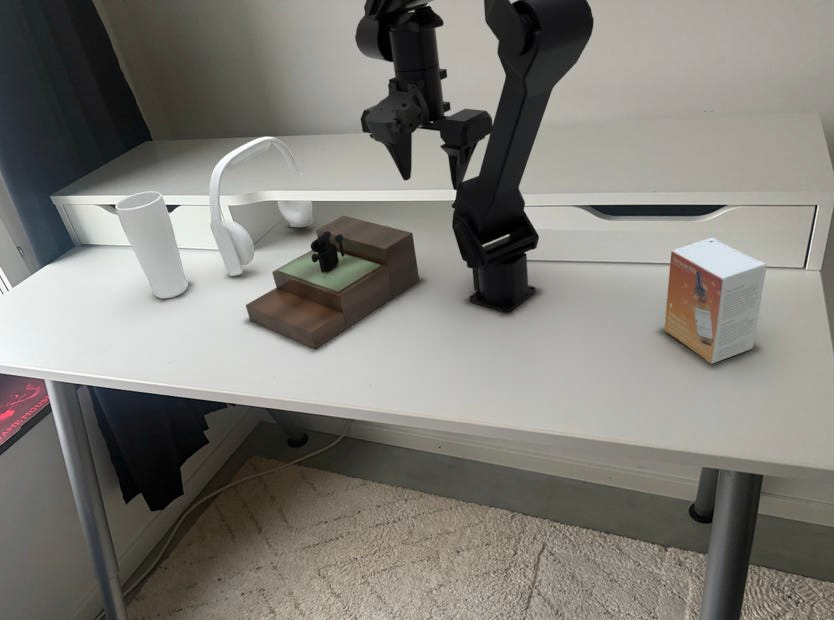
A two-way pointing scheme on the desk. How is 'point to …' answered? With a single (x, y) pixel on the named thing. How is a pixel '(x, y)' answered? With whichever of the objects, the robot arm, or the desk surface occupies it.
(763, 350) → the desk surface
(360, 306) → the step shelf
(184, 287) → the drinking glass
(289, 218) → the headset
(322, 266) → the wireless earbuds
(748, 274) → the small box
